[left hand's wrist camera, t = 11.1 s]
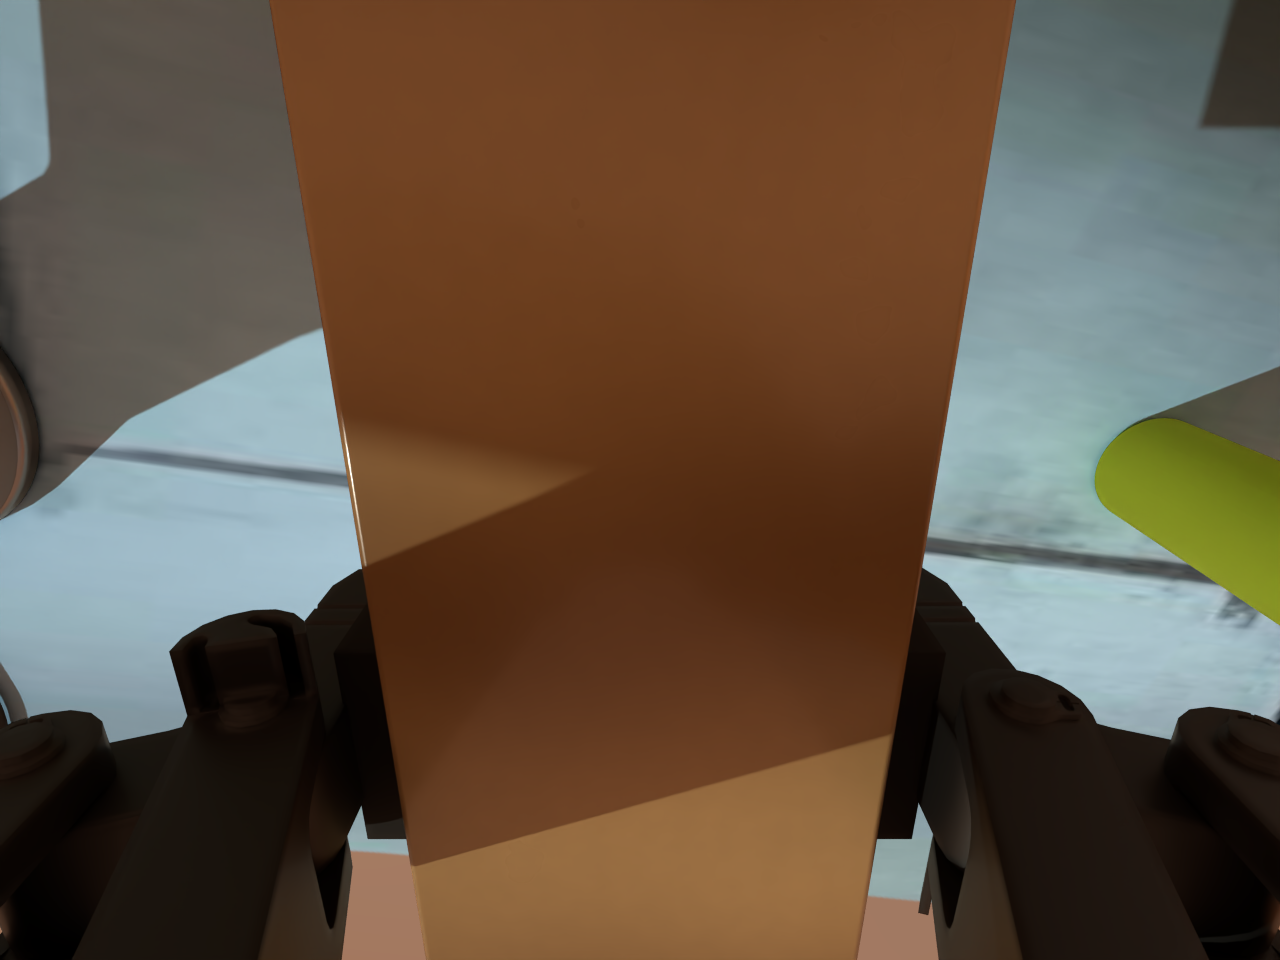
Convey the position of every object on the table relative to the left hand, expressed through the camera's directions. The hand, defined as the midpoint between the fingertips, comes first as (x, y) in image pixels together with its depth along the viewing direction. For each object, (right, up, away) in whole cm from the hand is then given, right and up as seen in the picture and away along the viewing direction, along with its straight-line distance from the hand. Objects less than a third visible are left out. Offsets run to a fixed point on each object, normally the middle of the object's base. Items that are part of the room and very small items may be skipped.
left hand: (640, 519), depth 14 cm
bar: (0, +9, -2) cm, 9 cm away
